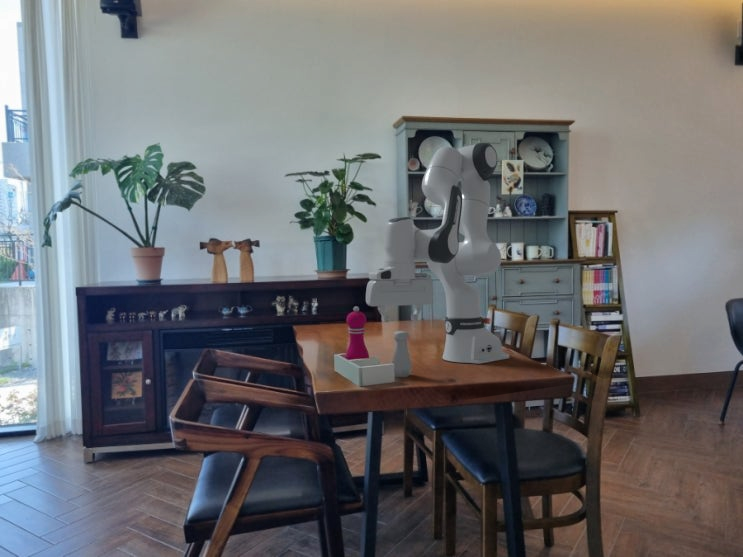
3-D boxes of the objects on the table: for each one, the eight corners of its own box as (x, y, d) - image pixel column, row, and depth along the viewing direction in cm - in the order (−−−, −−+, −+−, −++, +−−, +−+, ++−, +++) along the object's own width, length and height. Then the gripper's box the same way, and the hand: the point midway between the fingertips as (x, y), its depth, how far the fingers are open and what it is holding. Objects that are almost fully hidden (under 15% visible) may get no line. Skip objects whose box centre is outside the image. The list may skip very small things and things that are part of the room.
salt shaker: (412, 373, 148) (411, 329, 147) (411, 378, 142) (411, 332, 141) (392, 373, 148) (391, 330, 148) (391, 378, 142) (390, 333, 142)
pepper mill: (341, 373, 149) (339, 307, 148) (353, 368, 155) (351, 304, 154) (362, 376, 146) (360, 307, 145) (373, 371, 152) (372, 305, 151)
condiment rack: (366, 367, 157) (365, 351, 157) (394, 382, 138) (394, 364, 138) (334, 370, 153) (334, 354, 153) (359, 386, 134) (358, 368, 134)
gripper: (426, 272, 151) (426, 318, 151) (363, 273, 143) (363, 321, 143) (437, 273, 145) (437, 320, 145) (371, 273, 137) (372, 323, 137)
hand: (400, 321), depth 144 cm, fingers open, 8 cm apart
